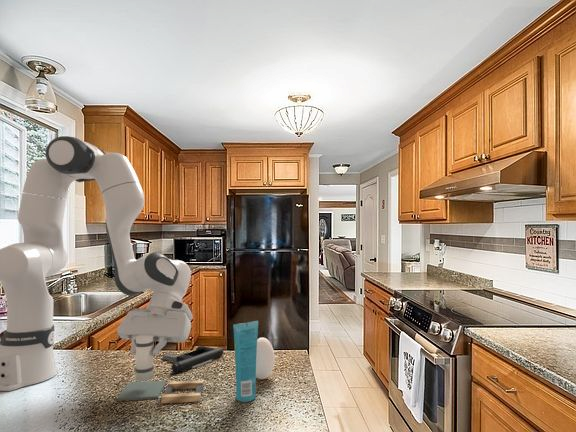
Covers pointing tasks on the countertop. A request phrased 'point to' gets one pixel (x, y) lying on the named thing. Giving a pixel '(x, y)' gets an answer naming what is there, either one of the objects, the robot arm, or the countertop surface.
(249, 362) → the tube
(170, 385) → the cradle
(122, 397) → the mat
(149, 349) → the white cylinder
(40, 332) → the robot arm
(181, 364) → the door handle
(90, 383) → the countertop surface
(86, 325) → the countertop surface
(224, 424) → the countertop surface
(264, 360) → the egg
